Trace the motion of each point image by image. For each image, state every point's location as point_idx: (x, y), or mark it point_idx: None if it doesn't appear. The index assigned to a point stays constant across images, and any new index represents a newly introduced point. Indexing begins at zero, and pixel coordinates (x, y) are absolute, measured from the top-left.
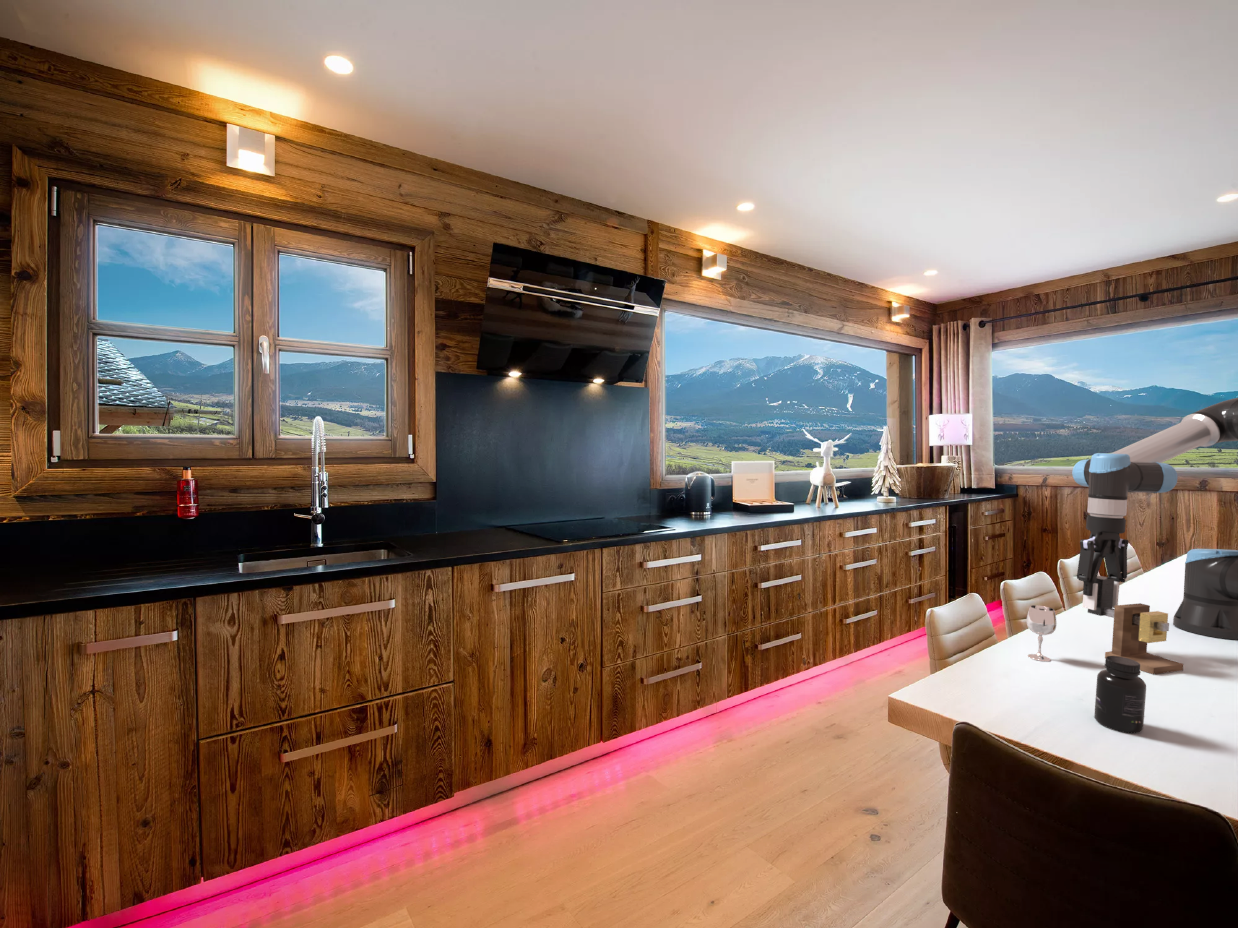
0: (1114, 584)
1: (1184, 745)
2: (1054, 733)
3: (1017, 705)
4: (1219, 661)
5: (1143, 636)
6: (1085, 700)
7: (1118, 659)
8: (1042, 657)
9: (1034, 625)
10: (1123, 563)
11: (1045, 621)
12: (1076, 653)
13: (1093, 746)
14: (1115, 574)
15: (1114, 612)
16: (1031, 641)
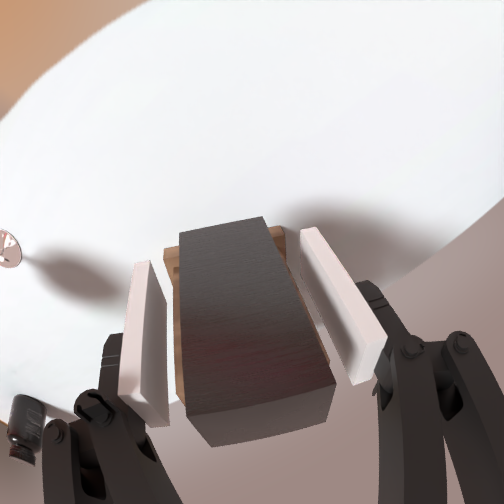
0: (348, 363)
1: (67, 423)
2: None
3: None
4: (412, 261)
5: None
6: (18, 374)
7: (18, 460)
8: (3, 261)
9: None
10: (454, 460)
11: None
12: (109, 216)
13: (3, 410)
14: (380, 418)
15: (175, 368)
16: (46, 117)
